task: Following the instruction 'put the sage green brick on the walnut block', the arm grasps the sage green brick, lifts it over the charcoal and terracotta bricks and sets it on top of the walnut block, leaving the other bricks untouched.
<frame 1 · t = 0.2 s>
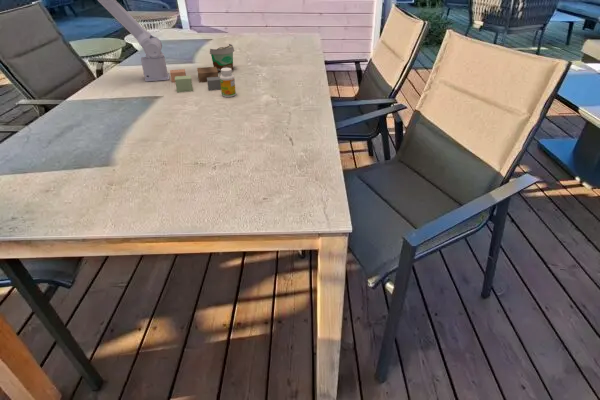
supplement bottle: (228, 95, 145), on the table
walnut block: (208, 79, 161), on the table
charcoal brick: (216, 88, 151), on the table
sage brick: (185, 90, 149), on the table
food container: (227, 71, 171), on the table
terracotta brick: (179, 80, 159), on the table
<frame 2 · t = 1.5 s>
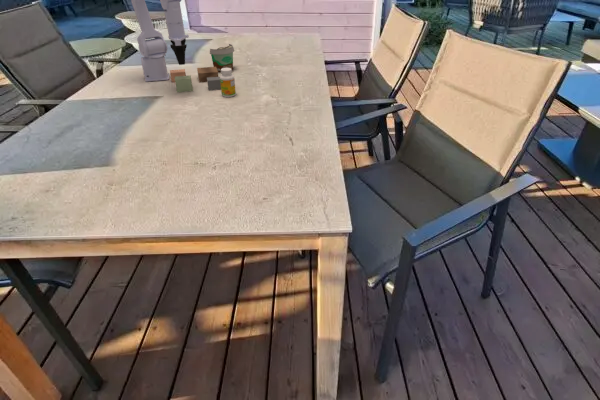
hand: (181, 61, 143), 11 cm above the table, tool pointing down, fingers open, 7 cm apart
nothing on the table moved.
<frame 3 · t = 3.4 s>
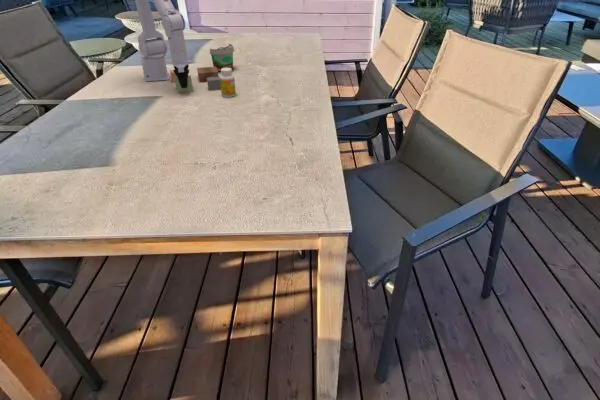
hand: (184, 85, 148), 2 cm above the table, tool pointing down, fingers closed on sage brick, 4 cm apart
sage brick: (185, 90, 149), on the table, touching gripper
everything else where it was.
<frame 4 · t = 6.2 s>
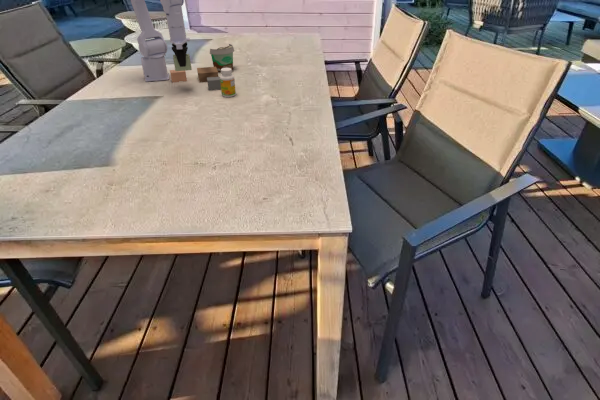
hand: (182, 64, 145), 9 cm above the table, tool pointing down, fingers closed on sage brick, 4 cm apart
sage brick: (183, 69, 145), point 8 cm above the table, touching gripper
everything else where it was.
when the fingers open (7 cm above the table, at t = 9.2 s): sage brick drops 2 cm, resting on walnut block.
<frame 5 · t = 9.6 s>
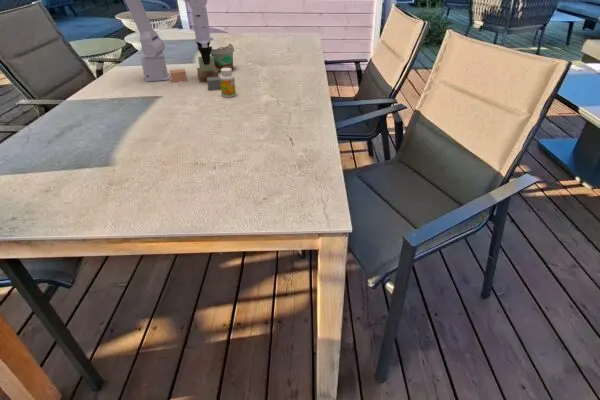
hand: (206, 62, 157), 7 cm above the table, tool pointing down, fingers open, 7 cm apart
walnut block: (208, 79, 161), on the table, touching sage brick
sage brick: (207, 69, 159), point 4 cm above the table, touching walnut block
everything else where it was.
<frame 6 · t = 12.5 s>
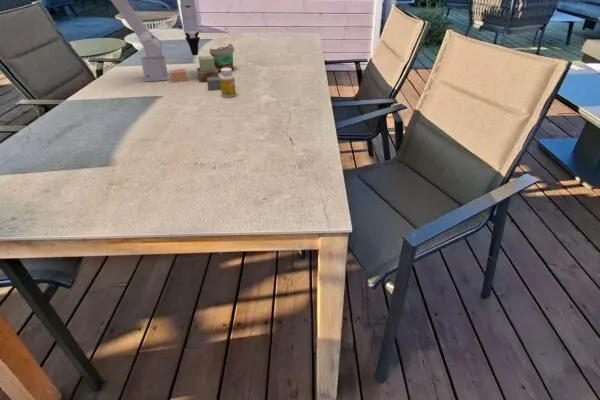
hand: (194, 52, 159), 9 cm above the table, tool pointing down, fingers open, 7 cm apart
nothing on the table moved.
at the end: sage brick 0.3 cm off-centre on the walnut block, point 4.0 cm above the walnut block's base; charcoal brick moved 0.2 cm from its start; terracotta brick moved 0.2 cm from its start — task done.
